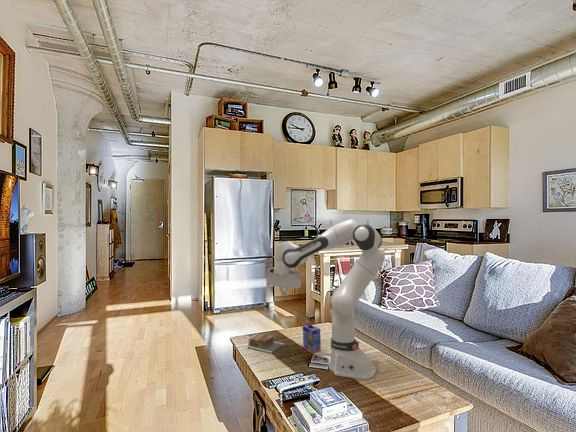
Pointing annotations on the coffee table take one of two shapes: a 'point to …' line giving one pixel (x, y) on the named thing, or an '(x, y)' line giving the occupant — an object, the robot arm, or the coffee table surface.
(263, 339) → the slab
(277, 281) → the robot arm
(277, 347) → the mat
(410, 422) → the coffee table surface
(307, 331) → the ink cartridge box
